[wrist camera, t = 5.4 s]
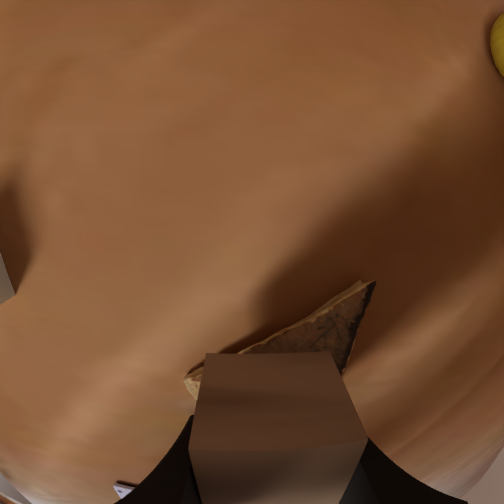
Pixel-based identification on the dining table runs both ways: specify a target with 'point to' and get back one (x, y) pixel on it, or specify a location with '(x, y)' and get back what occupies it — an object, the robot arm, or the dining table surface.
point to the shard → (314, 331)
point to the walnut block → (274, 430)
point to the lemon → (498, 43)
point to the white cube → (5, 283)
